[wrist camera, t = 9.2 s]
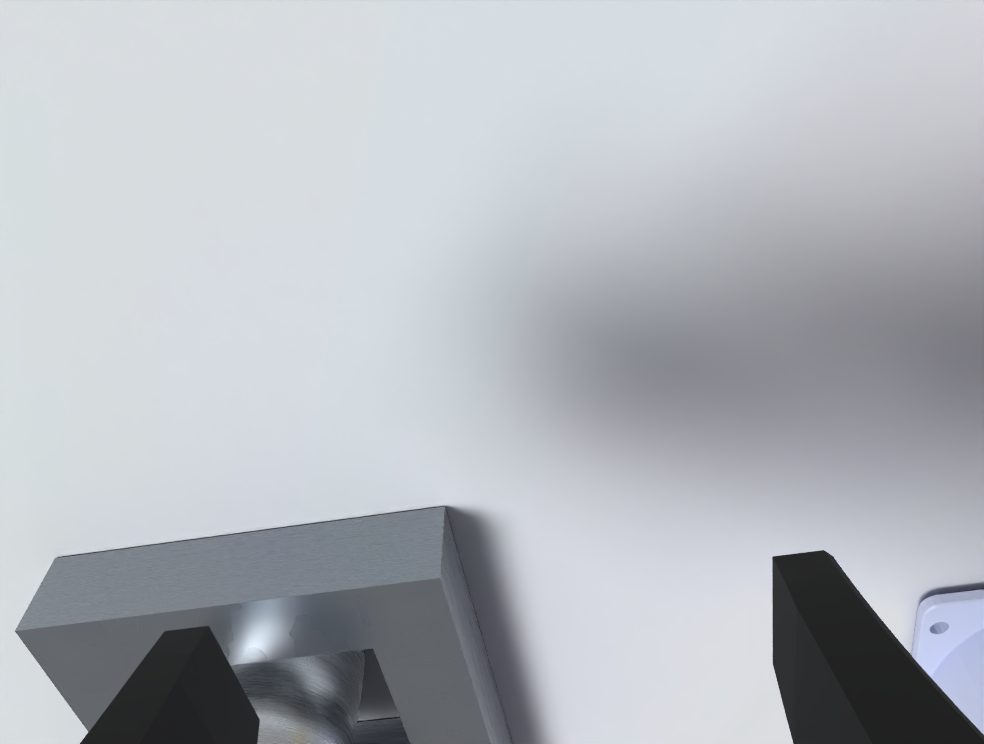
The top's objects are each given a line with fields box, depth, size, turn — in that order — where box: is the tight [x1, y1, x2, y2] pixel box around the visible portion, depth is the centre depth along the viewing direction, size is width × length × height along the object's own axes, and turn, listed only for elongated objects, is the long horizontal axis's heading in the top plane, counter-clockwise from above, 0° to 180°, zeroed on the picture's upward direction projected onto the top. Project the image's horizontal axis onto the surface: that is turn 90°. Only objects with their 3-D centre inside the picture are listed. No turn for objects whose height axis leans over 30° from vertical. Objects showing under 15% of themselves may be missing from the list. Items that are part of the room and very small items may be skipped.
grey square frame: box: [15, 506, 512, 744], centre depth 26 cm, size 11×11×2 cm
